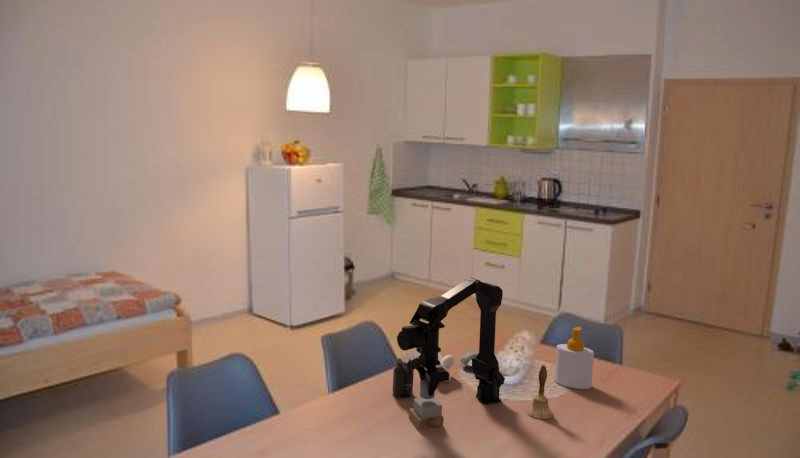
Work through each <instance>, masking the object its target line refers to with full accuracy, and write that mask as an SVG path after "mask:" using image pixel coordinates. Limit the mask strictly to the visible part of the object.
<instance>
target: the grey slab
mask: <svg viewBox="0 0 800 458" xmlns="http://www.w3.org/2000/svg"><path fill="white" fill-rule="evenodd" d="M412 408H413V410H414V411H415V412H416V413H417V414H418V415H419V416H420V417H421V418H422V419H426V418H432V417H438V416H442V415H443V404H442V403H441V402H439V400H437V398H435V397H434V398H432V399H424V398H421V397H418V398H414V399H413V406H412Z"/></svg>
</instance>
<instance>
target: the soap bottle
mask: <svg viewBox="0 0 800 458" xmlns="http://www.w3.org/2000/svg"><path fill="white" fill-rule="evenodd" d="M581 331H582V326H576V327H574V328H572V336H571V338H569V339H568V340H567V343H563V344H562V343H560V344H557V345H556V353H555V354H556V355H555V366H554V367H555V368H554V382H556V383H557V384H558V385H561V386H564V387H566V388H570V389H576V390H590V389H591V388H592V381H593V373H594V371H593V369H594V361H595V358H594V356H595V352H594V350H592V349H590V348H588V347H585V344H584V341H583V340H582V339H581Z"/></svg>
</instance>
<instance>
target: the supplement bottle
mask: <svg viewBox="0 0 800 458" xmlns="http://www.w3.org/2000/svg"><path fill="white" fill-rule="evenodd" d="M400 358H401V357H399V358H397V359H396V363H395V364H396V366H395V367H394V368H393V370H392V371H393V373H392V374H393V375H392V394H393V396H395V397H397V398H400V399H401V398H402V399H404V398H405V399H406V398H410V397H412V395H413V392H414V372H415V371H414V370H415V369H414V370H412V371H409V372H408V371H406V370H405V368H403V365H402V362H401V359H400Z"/></svg>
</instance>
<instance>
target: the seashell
mask: <svg viewBox="0 0 800 458" xmlns="http://www.w3.org/2000/svg"><path fill="white" fill-rule="evenodd" d="M477 355H478V353H475V354H471V355H468V356H465V357H466V358H465V357H462V358H460V362H461V364H463V365H464V366H467V367H469V366H468V365H467V364H468V362H469V361H470V359H471V360H472V359H473V358H476V356H477Z"/></svg>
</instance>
